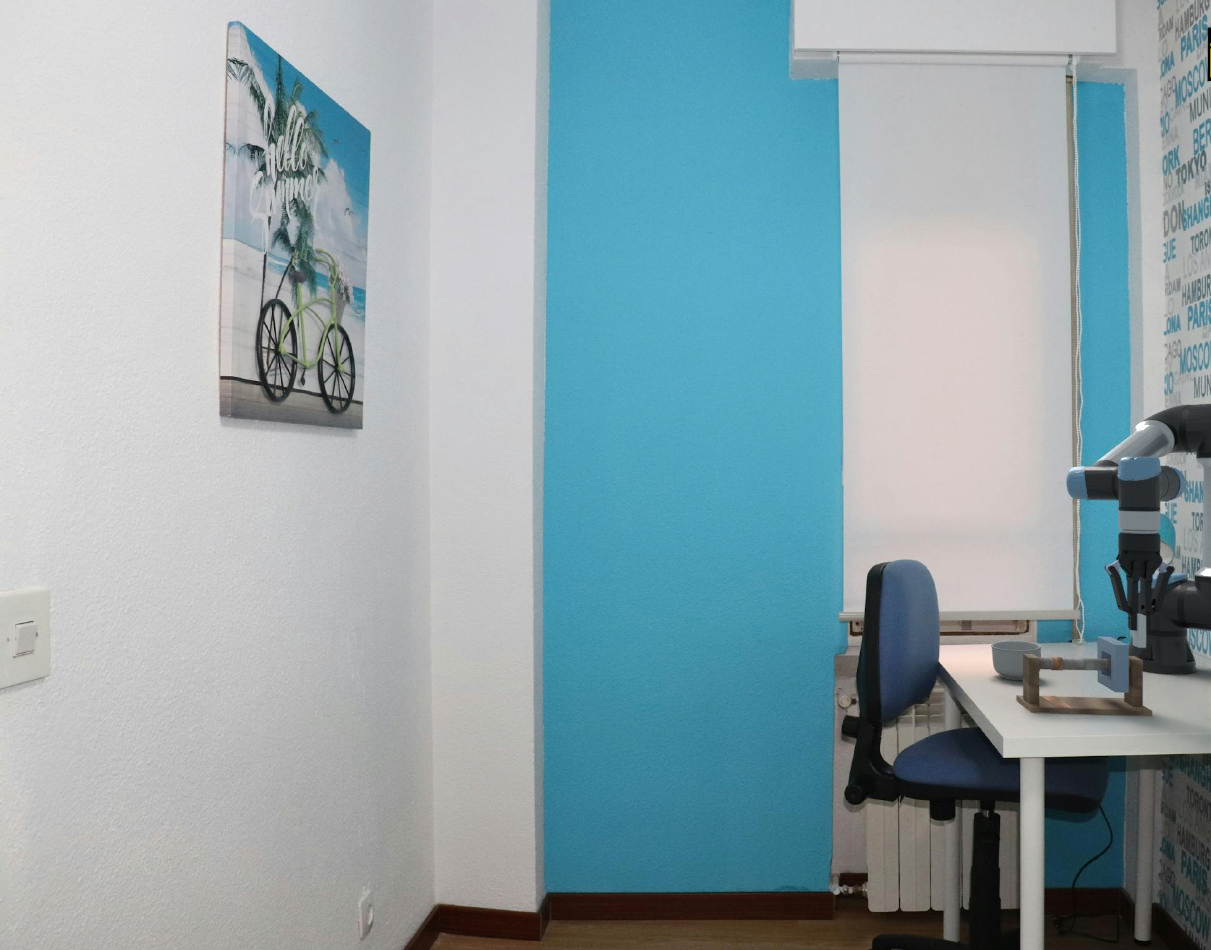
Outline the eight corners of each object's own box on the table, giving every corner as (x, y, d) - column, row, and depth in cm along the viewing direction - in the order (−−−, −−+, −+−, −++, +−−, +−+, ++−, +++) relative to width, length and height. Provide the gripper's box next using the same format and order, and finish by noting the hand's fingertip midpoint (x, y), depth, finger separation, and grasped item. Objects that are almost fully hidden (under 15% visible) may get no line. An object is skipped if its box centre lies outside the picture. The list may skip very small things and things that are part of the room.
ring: (1110, 682, 196) (1110, 636, 196) (1128, 692, 187) (1128, 645, 187) (1097, 681, 196) (1097, 636, 196) (1115, 692, 187) (1115, 644, 187)
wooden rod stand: (1130, 703, 196) (1130, 653, 196) (1152, 715, 186) (1152, 663, 186) (1016, 700, 199) (1016, 651, 199) (1031, 712, 189) (1031, 660, 189)
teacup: (1046, 684, 214) (1046, 649, 213) (996, 682, 216) (996, 647, 216) (1031, 670, 227) (1031, 638, 227) (984, 669, 229) (984, 636, 229)
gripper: (1164, 530, 194) (1164, 643, 194) (1098, 530, 195) (1098, 642, 195) (1182, 533, 186) (1182, 650, 186) (1112, 532, 188) (1113, 649, 188)
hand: (1139, 646), depth 191 cm, fingers closed
